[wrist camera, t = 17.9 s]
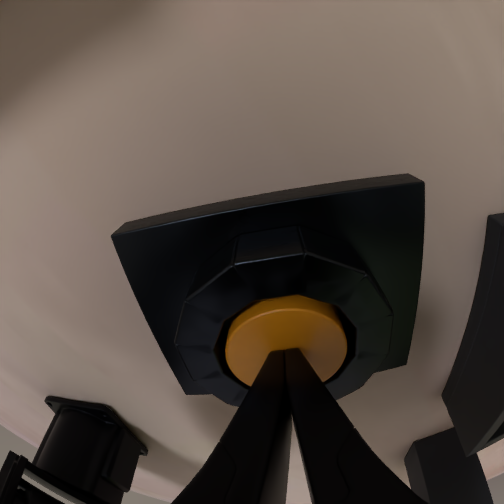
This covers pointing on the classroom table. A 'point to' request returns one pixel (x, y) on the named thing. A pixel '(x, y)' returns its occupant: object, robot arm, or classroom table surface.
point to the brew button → (285, 335)
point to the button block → (281, 273)
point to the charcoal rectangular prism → (446, 471)
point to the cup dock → (482, 354)
